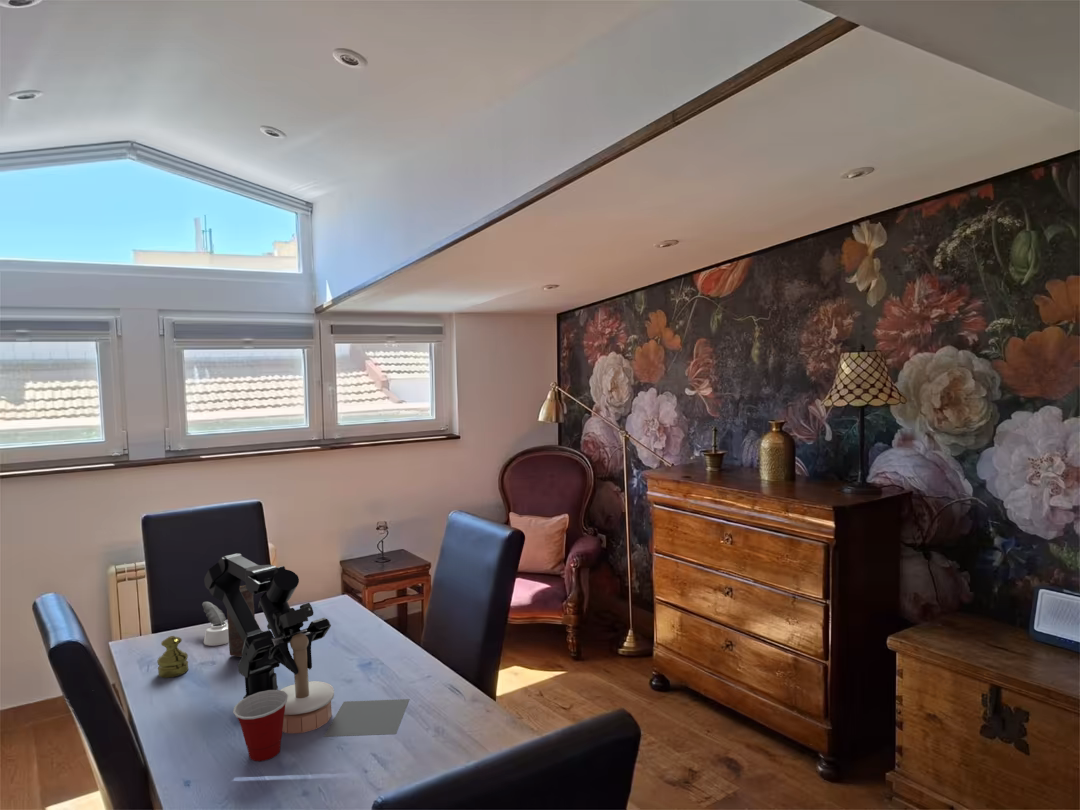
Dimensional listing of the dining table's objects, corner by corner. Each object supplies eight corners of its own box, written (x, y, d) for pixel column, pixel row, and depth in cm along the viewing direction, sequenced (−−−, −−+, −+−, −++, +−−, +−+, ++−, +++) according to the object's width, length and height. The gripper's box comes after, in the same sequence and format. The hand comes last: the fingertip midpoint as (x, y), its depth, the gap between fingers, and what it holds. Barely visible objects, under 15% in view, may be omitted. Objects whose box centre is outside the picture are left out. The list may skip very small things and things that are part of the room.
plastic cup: (226, 759, 146) (223, 704, 145) (274, 737, 154) (271, 684, 154) (252, 777, 139) (248, 719, 138) (301, 753, 147) (297, 698, 147)
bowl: (268, 736, 155) (267, 719, 155) (287, 710, 167) (286, 693, 166) (321, 734, 155) (320, 717, 155) (337, 708, 167) (336, 691, 167)
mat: (323, 739, 153) (323, 736, 153) (343, 703, 169) (343, 701, 169) (396, 736, 153) (396, 733, 153) (409, 701, 169) (409, 699, 169)
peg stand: (256, 710, 156) (252, 643, 155) (295, 682, 169) (292, 620, 168) (310, 717, 152) (306, 648, 151) (345, 688, 165) (342, 625, 164)
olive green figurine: (167, 667, 194) (165, 632, 194) (194, 666, 194) (191, 631, 194) (152, 678, 187) (149, 642, 187) (179, 678, 187) (177, 642, 186)
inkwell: (211, 648, 206) (208, 615, 206) (186, 634, 219) (184, 603, 218) (241, 638, 213) (239, 607, 213) (216, 625, 225) (214, 595, 225)
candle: (246, 661, 196) (242, 591, 195) (223, 660, 198) (219, 591, 197) (262, 650, 204) (258, 583, 203) (240, 649, 205) (236, 582, 204)
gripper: (249, 605, 155) (275, 667, 148) (325, 584, 169) (352, 640, 162) (236, 631, 161) (260, 692, 154) (310, 609, 174) (335, 663, 168)
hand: (303, 671), depth 159 cm, fingers closed on peg stand, 3 cm apart
